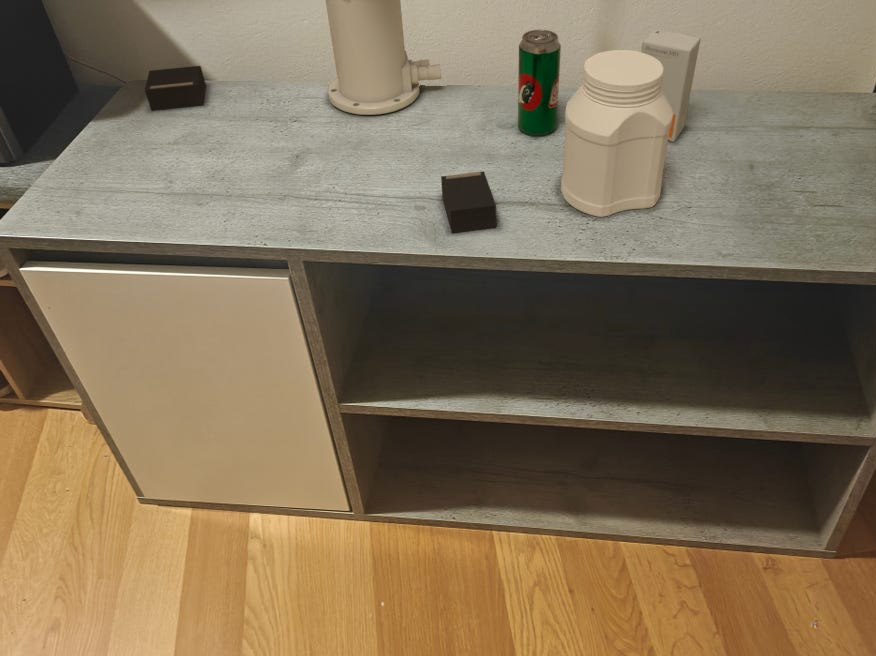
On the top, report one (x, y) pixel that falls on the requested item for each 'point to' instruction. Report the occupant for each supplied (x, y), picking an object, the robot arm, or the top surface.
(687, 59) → the cosmetic box
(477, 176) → the black box
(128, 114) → the top surface
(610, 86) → the jar
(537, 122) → the soda can
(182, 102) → the charcoal pad
